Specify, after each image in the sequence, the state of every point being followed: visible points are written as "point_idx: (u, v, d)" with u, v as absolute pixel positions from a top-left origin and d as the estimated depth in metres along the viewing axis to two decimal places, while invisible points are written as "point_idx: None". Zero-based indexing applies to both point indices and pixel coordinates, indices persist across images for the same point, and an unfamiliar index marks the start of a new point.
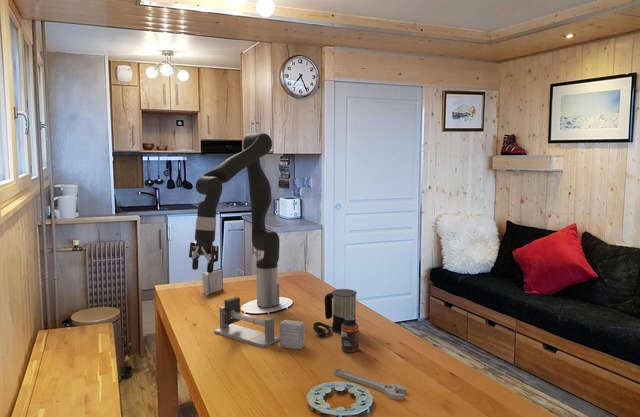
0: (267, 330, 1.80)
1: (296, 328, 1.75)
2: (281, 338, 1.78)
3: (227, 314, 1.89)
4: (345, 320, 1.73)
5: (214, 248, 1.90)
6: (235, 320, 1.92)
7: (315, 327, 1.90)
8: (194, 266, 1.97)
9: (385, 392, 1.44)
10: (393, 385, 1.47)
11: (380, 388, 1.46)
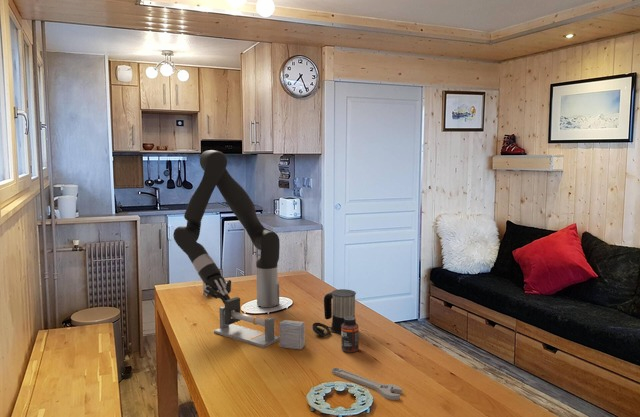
0: (267, 330, 1.80)
1: (296, 328, 1.75)
2: (281, 338, 1.78)
3: (227, 314, 1.89)
4: (345, 320, 1.73)
5: (205, 292, 1.91)
6: (235, 320, 1.92)
7: (314, 327, 1.89)
8: None
9: (380, 392, 1.44)
10: (389, 385, 1.47)
11: (376, 388, 1.46)
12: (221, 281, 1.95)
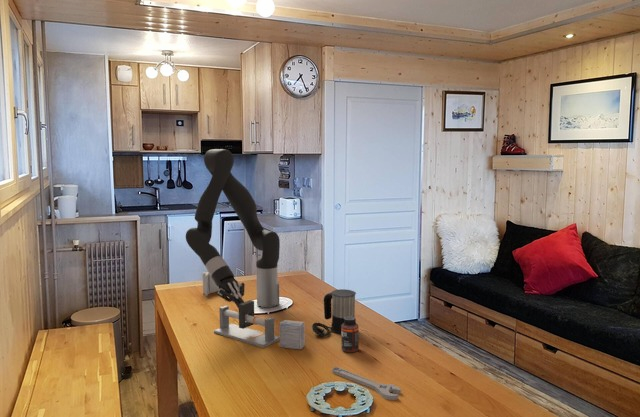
0: (267, 330, 1.80)
1: (296, 328, 1.75)
2: (281, 338, 1.78)
3: (241, 317, 1.85)
4: (345, 320, 1.73)
5: (219, 295, 1.87)
6: (249, 324, 1.88)
7: (314, 327, 1.89)
8: None
9: (379, 392, 1.44)
10: (388, 385, 1.47)
11: (375, 388, 1.46)
12: (234, 284, 1.91)
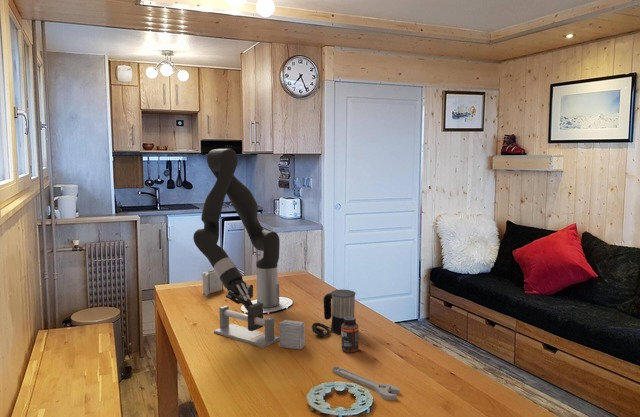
0: (267, 330, 1.80)
1: (296, 328, 1.75)
2: (281, 338, 1.78)
3: (250, 320, 1.82)
4: (345, 320, 1.73)
5: (227, 297, 1.84)
6: (258, 326, 1.85)
7: (314, 328, 1.89)
8: None
9: (378, 391, 1.44)
10: (387, 385, 1.47)
11: (374, 387, 1.47)
12: (243, 286, 1.89)
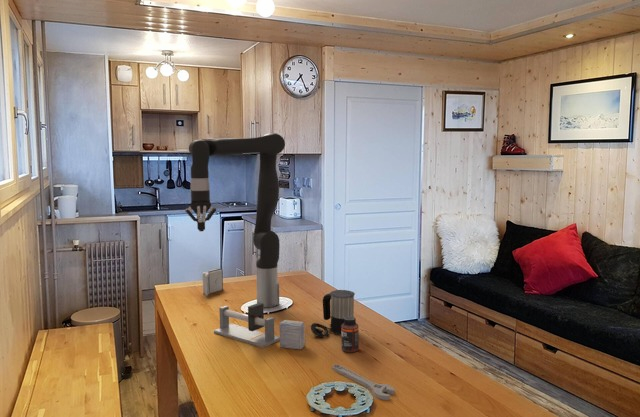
0: (267, 330, 1.80)
1: (296, 328, 1.75)
2: (281, 338, 1.78)
3: (251, 320, 1.82)
4: (345, 320, 1.73)
5: (186, 212, 2.08)
6: (259, 327, 1.85)
7: (313, 328, 1.89)
8: None
9: (373, 391, 1.45)
10: (383, 385, 1.47)
11: (369, 387, 1.47)
12: (204, 209, 2.08)
